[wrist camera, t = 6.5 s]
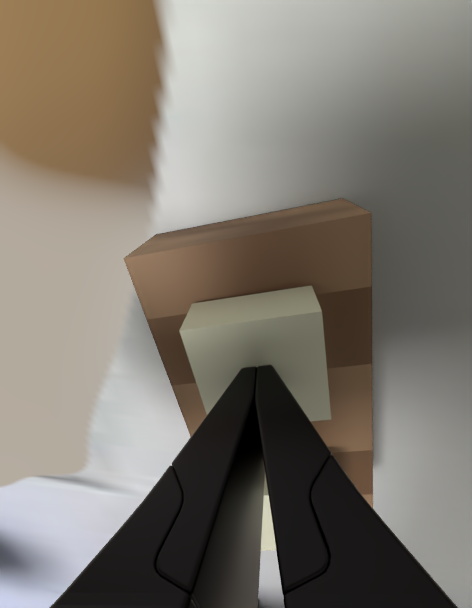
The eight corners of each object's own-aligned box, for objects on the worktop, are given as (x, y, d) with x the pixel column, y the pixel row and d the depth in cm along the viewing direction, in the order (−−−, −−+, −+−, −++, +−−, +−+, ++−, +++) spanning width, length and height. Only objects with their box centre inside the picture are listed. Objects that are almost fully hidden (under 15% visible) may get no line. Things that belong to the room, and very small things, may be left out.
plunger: (227, 343, 13) (211, 429, 9) (208, 269, 12) (179, 331, 8) (308, 333, 13) (331, 419, 9) (299, 253, 11) (322, 311, 7)
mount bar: (230, 469, 17) (224, 526, 15) (155, 234, 11) (123, 258, 9) (354, 462, 16) (372, 522, 14) (343, 198, 10) (370, 212, 8)
